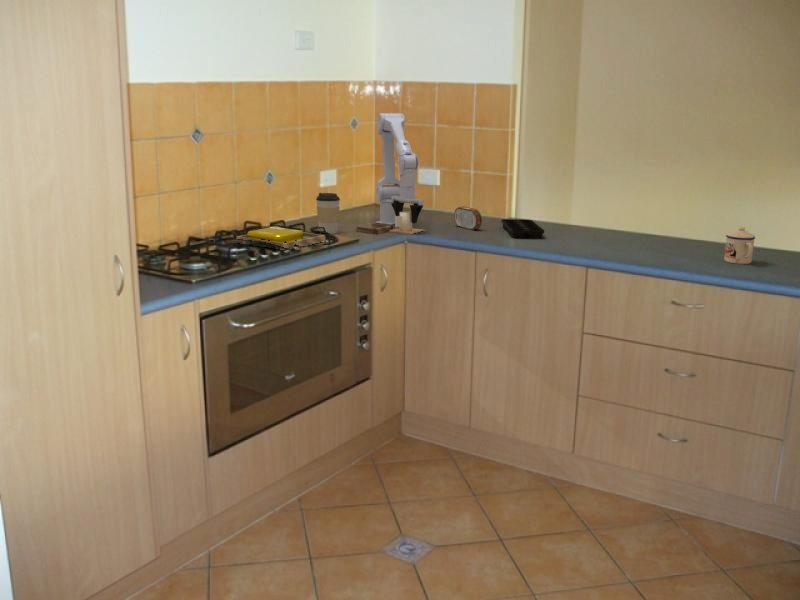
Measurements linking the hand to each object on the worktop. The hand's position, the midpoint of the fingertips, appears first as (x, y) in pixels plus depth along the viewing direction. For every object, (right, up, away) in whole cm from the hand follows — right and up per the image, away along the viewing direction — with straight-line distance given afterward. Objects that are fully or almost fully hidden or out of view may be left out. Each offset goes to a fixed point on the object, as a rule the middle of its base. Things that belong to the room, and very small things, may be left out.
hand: (406, 222), depth 333 cm
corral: (-44, -10, -28) cm, 53 cm away
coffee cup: (-30, -5, -5) cm, 31 cm away
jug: (-1, -3, 0) cm, 4 cm away
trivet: (0, -4, +1) cm, 4 cm away
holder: (-13, -3, +1) cm, 13 cm away
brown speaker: (+24, -2, +12) cm, 27 cm away
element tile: (-47, -10, -27) cm, 55 cm away
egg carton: (+45, -4, +5) cm, 45 cm away
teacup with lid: (+111, -18, -44) cm, 121 cm away
